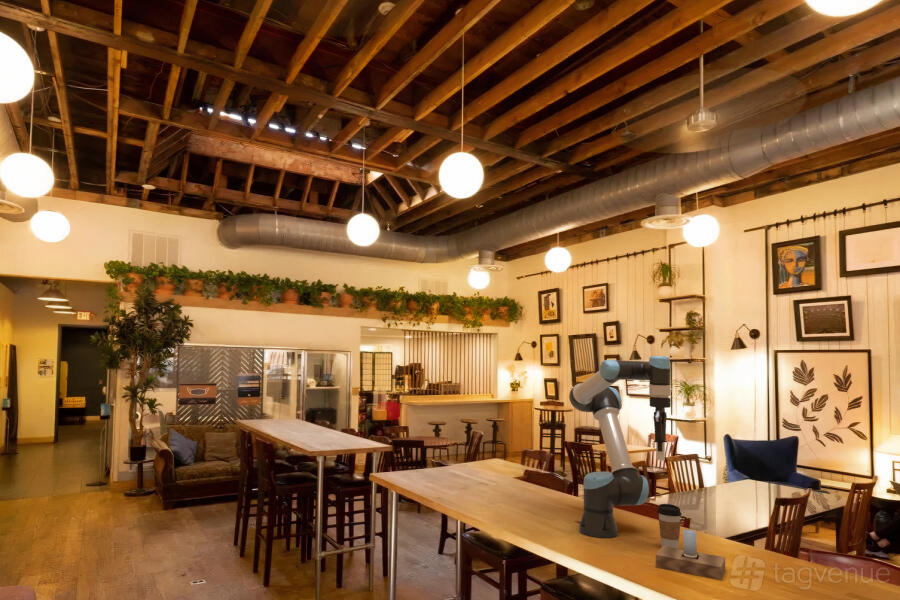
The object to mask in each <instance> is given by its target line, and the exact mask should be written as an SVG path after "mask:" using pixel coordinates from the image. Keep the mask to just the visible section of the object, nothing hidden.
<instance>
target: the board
mask: <svg viewBox="0 0 900 600" xmlns="http://www.w3.org/2000/svg"><path fill="white" fill-rule="evenodd" d="M655 567H656V568H657V567H658V569H662V568H663V570H668V571H672V572H678V573H683V574H689V575H693V576H697V577H703V578H707V579H708V578H709V579H713V580H717V581H723V579H724V575H725V572H726V557H725V556H721V555H715V554H710V553H703V552H700V551H699V552H698V551H697V559H692V558H686V557H684V548H683V549H681V548H678V549H677V548H672V547H666V546H662V545H661V547H660V549H659V550H658V551H657V553H656V554H655Z"/></svg>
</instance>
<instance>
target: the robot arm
mask: <svg viewBox="0 0 900 600" xmlns="http://www.w3.org/2000/svg"><path fill="white" fill-rule="evenodd" d="M620 380H621V381H622V380H625V381H626V380H627V381H628V380H629V381H648V382H649V385H648V386H649V387H648V388H649V389H648V390H649V392H648V393H649V396H650V397H649V406H650V408H655V409H654V410H655V411H653V417H652V418H653V423H654V425H653V426H654V441H653V443H655V444H656V445H655V446H656V448H655V449H656V451H655V452H656V453H655V455H656V461H662V462H663V461H666V458H665V457H666V454H665V450H666V446H665V443H667V442H668V441H667V438H666V435H667V434H666V433H667V415H668V414H667V412H666V409H668V408H671V404H672V403H671V400H672V399H671V397H670V396H671V392H672V391H673V388H671V360H670V358H669V356H664V355H663V356H662V355H651V356H649V358H648V361H643V360H642V361H641V360H620V359H619V360H618V359H605V360H603V361H601V363H600V365H599V370H598V371H597V372H595V373H594V374H593V375H591V376H590V377H588V378H587V379H586V380H585V381H583V382H582V383H581V382H580V383H577V384H576V385H574V386H573V387H572V388H571V389H570V391H569V396H568V399H569V403H570V404H571V406H572V407H573V409H574V408H575V409H576V410H577V411H579V412H584V413H592V415H593V418H594V420H596V421H597V422H598V424H599V429H600V433H601V435H602V438H603V442H604V445H605V449H606V452H607V455H608V456H607V457H608V459H609V464H610V467H611V471H593V472H592V471H591V472H589V473H587V474H586V475H585V476H584V477H583V485H582V487H583V511H582V512H583V513H582V515H581V517H580V522H579V524H578V531H579V532H580V533H581V534H583V535H586V536H587V537H589V536H590V537H595V538H603V539H605V538H609V539H610V538H614V537H616V536H618V535H619V530H618V529H619V528H618V525H617V522H616V519H615V515H614V506H633V507H634V506H641V505H643V504H644V503H646V501H647V500H648V497H649V490H650V488H649V482H648V479H647V478H646V477H645V476H644V475H641V474H640V473H639V470H638V468H637V467H635V466H634V465H633V463H632V461H631V457H630V454H629V449H628V448H627V444H626V441H625V440H626V439H625V437H624V434H623V430H622V426H621V424H620V420H619V417H618V416H619V415H620V411H621V409H622V397H621V394H620V392H619V391H618V389H616V388H614V387H611V386H612V385H614V384H615V383H616V382H618V381H620Z"/></svg>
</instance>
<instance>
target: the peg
mask: <svg viewBox="0 0 900 600" xmlns="http://www.w3.org/2000/svg"><path fill="white" fill-rule="evenodd" d="M682 532H683V535H682V536H683V550H684V557H686V558H692V559H697V552H698V551H697V545H698V544H697V531H696V530H693V529H683V531H682Z"/></svg>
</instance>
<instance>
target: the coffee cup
mask: <svg viewBox="0 0 900 600" xmlns="http://www.w3.org/2000/svg"><path fill="white" fill-rule="evenodd" d="M657 514H658V524H659V535H660V542H661V547H662V546H666V547H672V548H677V549H680V548H679V545H680V534H681V532H680V531H681V516H682V511H681V509H680V507H679V506H678V505H674V504H671V503H660V504H658V509H657Z"/></svg>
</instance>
